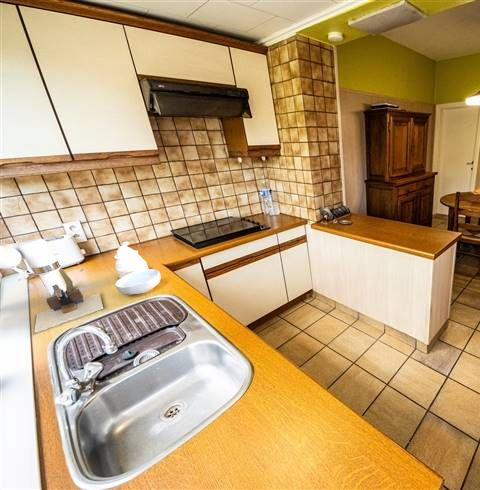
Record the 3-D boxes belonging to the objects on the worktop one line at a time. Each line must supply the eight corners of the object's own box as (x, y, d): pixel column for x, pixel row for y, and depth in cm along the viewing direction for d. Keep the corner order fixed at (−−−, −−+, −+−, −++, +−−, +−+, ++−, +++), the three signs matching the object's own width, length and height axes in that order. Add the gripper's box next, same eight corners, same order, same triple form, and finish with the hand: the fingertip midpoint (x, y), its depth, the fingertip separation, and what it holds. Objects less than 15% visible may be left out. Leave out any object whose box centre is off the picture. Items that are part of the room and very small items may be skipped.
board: (35, 333, 104) (34, 331, 103) (38, 315, 114) (37, 313, 114) (103, 308, 117) (102, 306, 116) (100, 294, 128) (99, 292, 127)
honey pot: (141, 266, 154) (128, 237, 147) (153, 270, 149) (141, 240, 142) (114, 276, 144) (99, 246, 137) (126, 281, 138) (111, 250, 131)
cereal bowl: (112, 297, 125) (106, 284, 122) (148, 279, 139) (143, 267, 137) (138, 302, 120) (131, 288, 117) (172, 283, 135) (167, 270, 132)
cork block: (63, 314, 113) (61, 310, 112) (63, 310, 115) (61, 306, 114) (76, 309, 115) (74, 305, 114) (76, 306, 118) (74, 302, 117)
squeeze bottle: (48, 295, 129) (28, 262, 122) (69, 286, 136) (51, 255, 129) (59, 297, 127) (38, 264, 120) (79, 288, 134) (61, 256, 127)
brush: (52, 311, 114) (46, 301, 112) (53, 308, 116) (46, 298, 114) (84, 301, 121) (79, 291, 119) (84, 298, 123) (78, 288, 121)
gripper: (34, 265, 114) (56, 300, 121) (31, 277, 103) (55, 315, 111) (59, 259, 119) (79, 293, 126) (59, 270, 108) (80, 307, 116)
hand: (68, 303), depth 118 cm, fingers closed on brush, 3 cm apart
